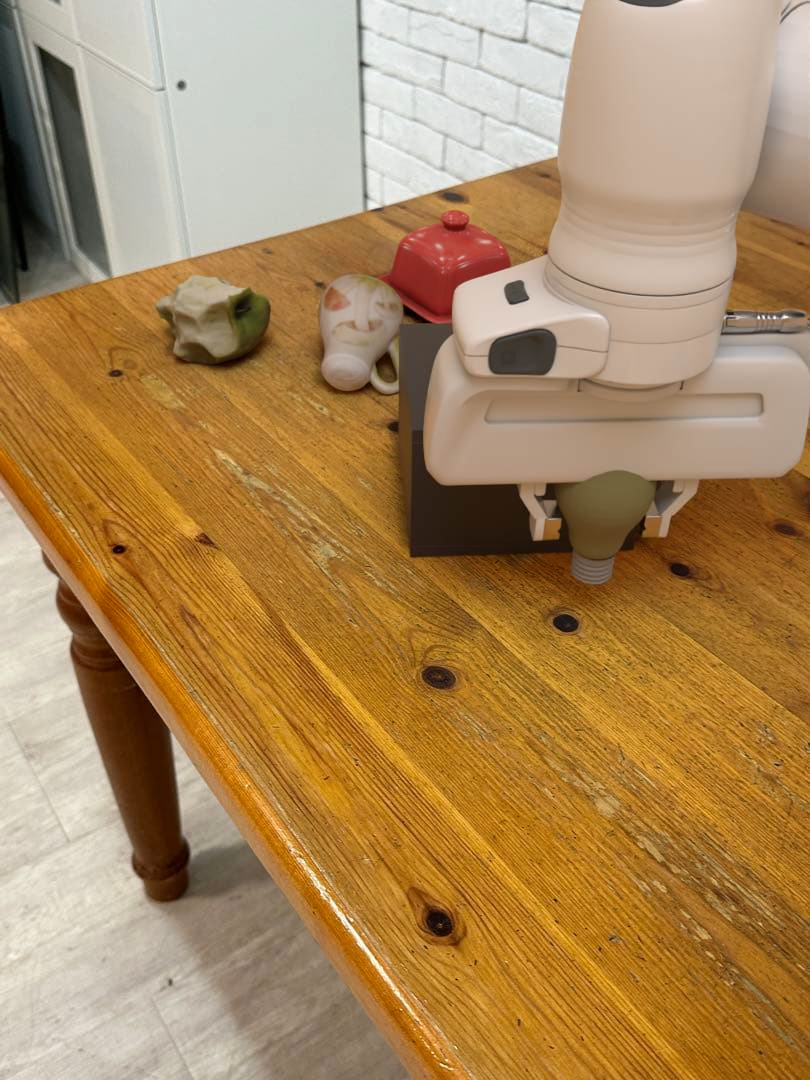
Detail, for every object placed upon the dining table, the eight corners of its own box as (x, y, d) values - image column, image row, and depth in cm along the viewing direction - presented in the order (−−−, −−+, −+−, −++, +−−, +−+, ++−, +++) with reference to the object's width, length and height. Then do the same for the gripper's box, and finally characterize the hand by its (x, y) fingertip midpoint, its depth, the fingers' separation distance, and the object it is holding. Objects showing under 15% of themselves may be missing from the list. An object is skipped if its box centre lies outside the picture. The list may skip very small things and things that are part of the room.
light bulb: (544, 546, 65) (561, 407, 59) (635, 555, 64) (662, 416, 58) (540, 605, 61) (558, 463, 54) (637, 616, 60) (667, 473, 54)
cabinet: (591, 437, 80) (608, 319, 74) (633, 550, 69) (657, 423, 63) (398, 441, 79) (399, 323, 73) (410, 557, 68) (412, 429, 62)
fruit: (286, 375, 89) (275, 298, 83) (178, 398, 88) (159, 322, 81) (263, 310, 95) (252, 234, 89) (161, 331, 93) (142, 255, 87)
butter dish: (538, 308, 97) (546, 219, 92) (437, 340, 92) (440, 247, 86) (464, 265, 104) (468, 180, 99) (366, 292, 99) (365, 204, 94)
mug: (300, 403, 84) (285, 276, 82) (344, 398, 93) (331, 283, 91) (389, 394, 81) (374, 263, 80) (424, 389, 90) (412, 271, 89)
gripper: (814, 282, 55) (755, 496, 63) (423, 287, 54) (418, 504, 62) (862, 339, 50) (791, 562, 58) (433, 346, 49) (426, 573, 57)
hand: (596, 532), depth 60 cm, fingers closed on light bulb, 5 cm apart
